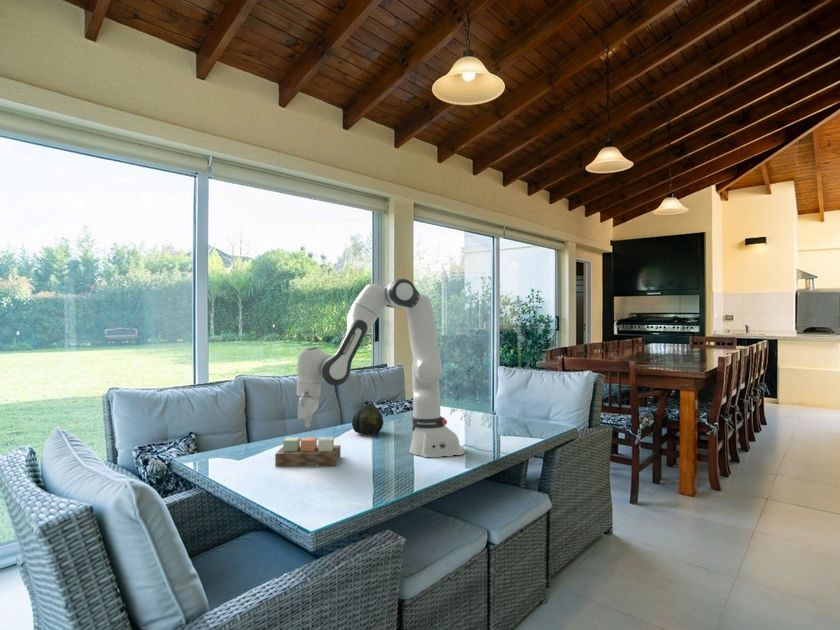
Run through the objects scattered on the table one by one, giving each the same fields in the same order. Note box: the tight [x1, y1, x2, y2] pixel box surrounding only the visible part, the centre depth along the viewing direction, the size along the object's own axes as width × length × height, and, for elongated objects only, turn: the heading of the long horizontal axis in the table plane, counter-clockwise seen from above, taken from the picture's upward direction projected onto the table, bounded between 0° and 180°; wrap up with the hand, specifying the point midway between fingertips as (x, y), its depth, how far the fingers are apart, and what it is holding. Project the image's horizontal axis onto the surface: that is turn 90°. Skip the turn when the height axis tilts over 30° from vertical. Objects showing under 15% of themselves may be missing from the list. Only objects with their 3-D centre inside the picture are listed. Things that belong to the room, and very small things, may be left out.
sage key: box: [282, 436, 301, 452], centre depth 186 cm, size 5×5×5 cm
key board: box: [274, 444, 341, 467], centre depth 186 cm, size 22×12×4 cm, turn 91°
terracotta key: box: [300, 436, 318, 451], centre depth 186 cm, size 5×5×5 cm
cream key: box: [317, 436, 335, 451], centre depth 186 cm, size 5×5×5 cm
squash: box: [351, 402, 384, 437], centre depth 231 cm, size 14×15×15 cm
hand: (308, 426), depth 186 cm, fingers closed
